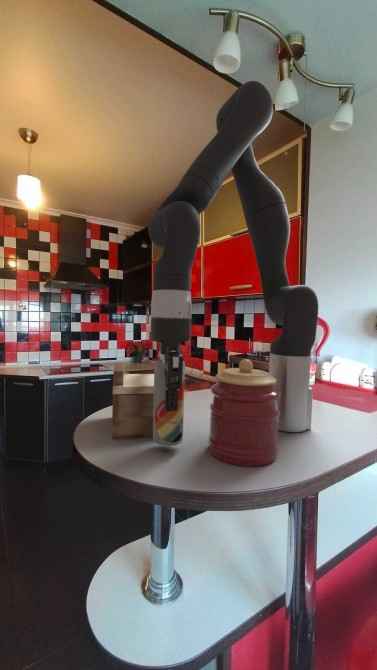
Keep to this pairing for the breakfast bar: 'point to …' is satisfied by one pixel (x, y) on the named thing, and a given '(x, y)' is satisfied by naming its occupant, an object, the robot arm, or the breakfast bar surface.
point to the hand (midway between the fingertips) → (168, 405)
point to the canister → (244, 416)
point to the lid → (131, 382)
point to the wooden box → (132, 416)
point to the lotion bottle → (164, 422)
